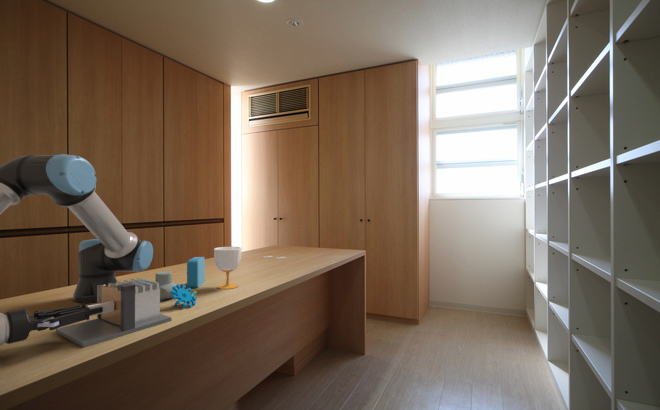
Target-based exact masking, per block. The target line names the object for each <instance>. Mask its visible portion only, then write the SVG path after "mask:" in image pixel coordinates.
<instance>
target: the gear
mask: <svg viewBox="0 0 660 410" xmlns="http://www.w3.org/2000/svg"><path fill="white" fill-rule="evenodd" d="M176 284H177V285H176V286H173V287H172V289H173V290H172V291H171V294H174V295H173V296H172V298H171V299H172V300H176V301H175V302H174V305H175V306H178V305H180V304H181V303H182V304H181V306H182V307H184V308H185V307H187V308H191V307H193V306H195V305H196V303H197V302H196V301H197V300H198V299H197V297H196V296H195V295H196V294H197V291H196V290H194V291H192V288H188V287H187V285H185V284H182V285H181V284H179V283H176ZM186 288H187V289H186ZM177 289H178V290H177ZM191 291H192V292H191Z"/></svg>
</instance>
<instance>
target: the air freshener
mask: <svg viewBox="0 0 660 410" xmlns="http://www.w3.org/2000/svg"><path fill="white" fill-rule="evenodd" d="M154 282H158V283H159V289H160V301H166V300H169V299H173V298H172V296H173V295H174V294H171V291H172V290H173V289H172V287H173V286H176V285H177V284H178V283H176V282H174V281H173V272H172V271H168V270H165V271H164V270H163V271H158V272H156V273H155V281H154ZM177 290H178V289H177Z"/></svg>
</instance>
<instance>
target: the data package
mask: <svg viewBox="0 0 660 410" xmlns="http://www.w3.org/2000/svg"><path fill="white" fill-rule="evenodd" d="M205 261H206V259H205V257H204V256H195V257H192V258H190V259H188V260H187V263H186V284H187V285H186V288H187V289H188V288H191V289H192V288H193V289H195V288H196V289H197V288H199V287H201V286H202V285H203V284H204V283H205V278H206V277H205V276H206V275H205V274H206V265H205V264H206V262H205Z"/></svg>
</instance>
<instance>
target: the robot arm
mask: <svg viewBox="0 0 660 410" xmlns="http://www.w3.org/2000/svg"><path fill="white" fill-rule="evenodd" d="M95 175H96V169H95V168H94V166H93V165H92V164H91V163H90V161H88V160H87V159H86V158H84V157H82V156H79V155H74V154H66V153H65V154H64V153H62V154H26V155H25V154H24V155H21V156H18V157H15V158H13V159H11V160H9V161H7V162H6V163H4V164H1V165H0V215H2V214H3V213H4V211H6V210H7V209H8V208H9V207H10V206H15V205H18V204H19V203H20V202H21V201H22V200H23V199H24V198H27V197H29V196H33V195H46V196H49V198H50V199H51V200H52V201H54V203H55V204H56V205H58V207H63V208H68V209H69V211H71V212H72V213H73V214H74V216H75V217H76V218H77V219H78V220H79V221H80V222H81V223H82V224H83V225H84V226H85V228H86V229H88V231H89V232H90V233H91V234H92V235H93V236H94V237H95V238H93V239H85V240H82V241H81V242H80V243H79V245H78V247H79V248H78V273H79V274H78V281H77V283H76V286H75V289H74V292H73V295H72V300H73V302H74V303H79V304H80V303H81V305H75V306H73V305H72V306H68V307H60V308H53V309H45V310H36V311H33V314H29V312H28V310H27V309H24V308H21V309H15V310H9V311H6V312H4V313H2V312H0V346H3V345H4V344H7V345H10V344H13V343H19V342H24V341H25V340H27V339H28V337H29V336H30V332H32V331H37V332H41V331H45V330H47V329H49V331H54V330H55V331H56V329H57V328H61V327H65V326H69V325H73V324H77V323H81V322H84V321H89V320H90V317H94V316H97V315H99V314H103V313H108V312H112V311H114V302H113V301H110V302H104V303H99V304H97V285H101V284H106V285H107V286H108V283H113V284H116V282H118V280H117V277H116V272H131V273H132V272H133V273H137V272H144V271H146V270H147V269H148V268H149V267H150V265H151V264H152V260H153V259H154V257H153V256H154V247H153V244H152V243H151V242H150V241H147V240H140V238H139V237H138V236H137V234H135V232H134V233H133V232H131V231H127V229H125V227H124V226H123V224H122V223H121V222H120V221H119V219H118V218H117V217H116V216H115V214H113V212H112V211H111V209H109V207H108V206H107V205H106V203H105V202H104V201H103V200H102V199H101V197H100V196H99V195H98V194H97V193H96V189H97V185H96V184H97V176H95ZM87 303H93V304H90V305H87ZM94 303H95V304H94Z"/></svg>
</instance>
